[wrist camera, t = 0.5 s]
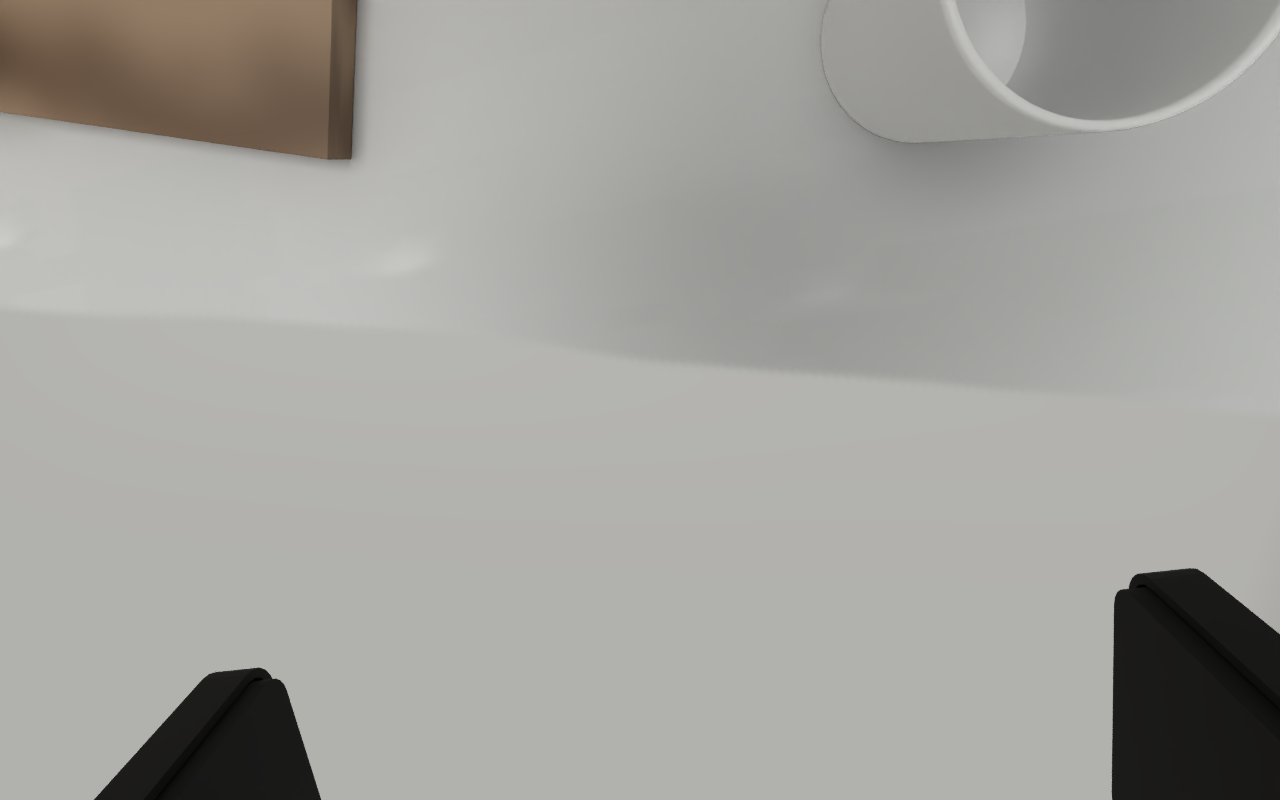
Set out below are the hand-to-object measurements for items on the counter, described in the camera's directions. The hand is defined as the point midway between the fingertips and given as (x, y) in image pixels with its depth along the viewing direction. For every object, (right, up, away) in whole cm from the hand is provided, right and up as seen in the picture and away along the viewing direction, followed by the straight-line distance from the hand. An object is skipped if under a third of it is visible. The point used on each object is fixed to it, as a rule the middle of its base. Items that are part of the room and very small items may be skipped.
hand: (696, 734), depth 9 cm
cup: (+11, +18, +24) cm, 32 cm away
